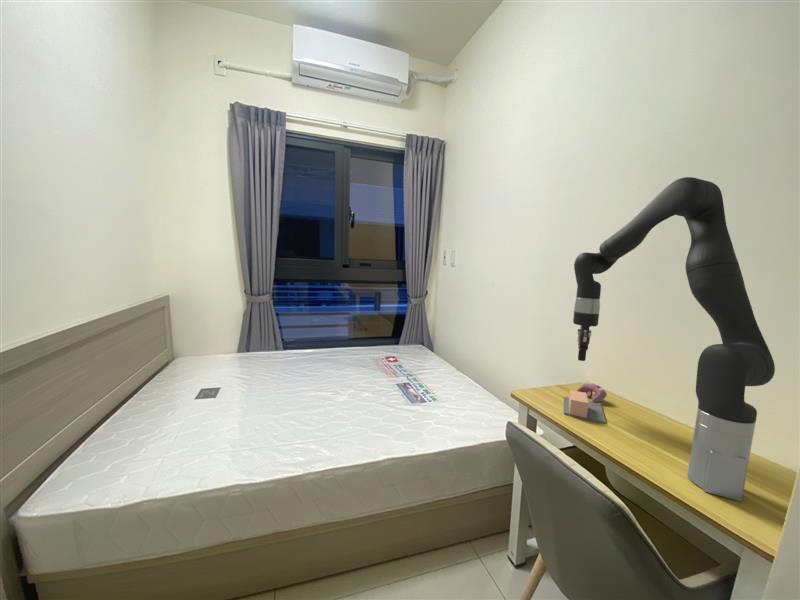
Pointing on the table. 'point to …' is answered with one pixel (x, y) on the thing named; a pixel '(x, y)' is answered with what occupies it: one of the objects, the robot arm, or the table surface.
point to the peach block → (578, 403)
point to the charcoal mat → (588, 411)
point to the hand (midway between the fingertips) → (581, 360)
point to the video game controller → (593, 388)
